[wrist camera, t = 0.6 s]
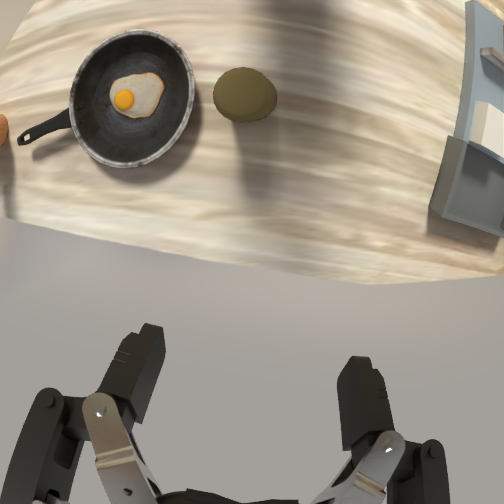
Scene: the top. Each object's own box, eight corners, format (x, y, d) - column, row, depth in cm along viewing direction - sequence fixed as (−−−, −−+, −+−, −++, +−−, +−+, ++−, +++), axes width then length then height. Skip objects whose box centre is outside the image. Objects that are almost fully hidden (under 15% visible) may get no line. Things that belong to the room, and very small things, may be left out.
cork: (286, 104, 30) (291, 104, 20) (244, 129, 32) (230, 141, 22) (258, 65, 27) (250, 47, 18) (217, 91, 29) (190, 87, 20)
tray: (448, 135, 28) (463, 140, 25) (517, 173, 28) (531, 181, 25) (428, 206, 34) (441, 217, 30) (498, 229, 34) (510, 240, 30)
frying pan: (209, 152, 34) (202, 158, 30) (41, 186, 37) (28, 194, 34) (195, 18, 24) (186, 10, 21) (25, 89, 28) (10, 91, 25)
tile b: (475, 100, 23) (488, 102, 20) (501, 117, 23) (514, 121, 20) (468, 140, 26) (481, 144, 23) (494, 154, 26) (506, 160, 23)
